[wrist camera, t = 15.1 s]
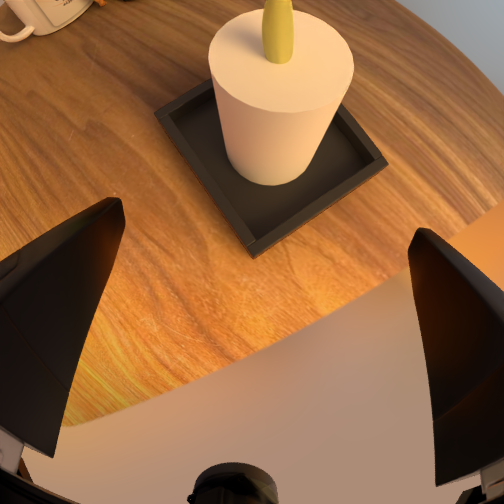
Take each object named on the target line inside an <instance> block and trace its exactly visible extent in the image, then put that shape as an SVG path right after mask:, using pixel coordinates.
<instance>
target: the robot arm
mask: <svg viewBox="0 0 504 504" xmlns="http://www.w3.org/2000/svg"><path fill="white" fill-rule="evenodd" d="M124 229H125V216H124V210H123V205H122V201H121V199H120V198H117V197H107V198H105V199H103V200H101V201H100V202H98V203H96V204H94V205H92V206H90V207H89V208H87V209H85V210H83V211H81V212H80V213H78V214H76V215H74V216H73V217H71V218H69V219H67V220H66V221H64V222H62V223H61V224H59V225H57V226H56V227H54V228H52V229H51V230H49V231H47V232H46V233H44V234H42V235H41V236H39V237H38V238H36V239H34V240H33V241H31V242H30V243H28V244H26V245H25V246H23V247H22V248H21V249H19V250H17V251H16V252H14V253H13V254H11V255H10V256H8V257H6V258H5V259H3V260H2V261H0V504H79V503H77V502H74V501H72V500H69V499H67V498H65V497H62V496H60V495H57V494H55V493H53V492H50V491H49V490H46V489H44V488H42V487H40V486H38V485H36V484H34V483H33V481H32V479H31V477H30V474H29V472H28V470H27V468H26V466H25V463H24V461H23V459H22V458H21V455H22V451H23V448H24V446H26V447H28V448H30V449H32V450H35V451H37V452H39V453H41V454H44V455H46V456H48V457H50V458H53V457H54V454H55V449H56V444H57V440H58V435H59V431H60V427H61V423H62V419H63V415H64V411H65V407H66V403H67V400H68V396H69V393H68V392H70V388H71V385H72V381H73V378H74V374H75V371H76V368H77V365H78V361H79V358H80V355H81V352H82V349H83V346H84V343H85V340H86V337H87V334H88V331H89V328H90V326H91V323H92V320H93V317H94V314H95V312H96V309H97V306H98V304H99V301H100V298H101V296H102V293H103V291H104V288H105V286H106V283H107V281H108V278H109V276H110V273H111V270H112V268H113V265H114V261H115V258H116V255H117V251H118V248H119V245H120V242H121V238H122V235H123V232H124ZM408 260H409V267H410V274H411V281H412V288H413V296H414V300H415V306H416V311H417V316H418V320H419V325H420V331H421V336H422V342H423V348H424V353H425V360H426V367H427V373H428V380H429V388H430V397H431V407H432V418H433V433H434V449H435V484H436V487H438V486H442V485H446V484H449V483H453V482H456V481H459V480H463V479H466V478H469V477H472V476H475V475H478V474H480V479H481V485H479V486H477V487H474V488H471V489H469V490H466V491H463V492H462V494H461V496H460V497H459V499H458V501H457V502H456V504H504V292H503V291H502V290H501V289H500V288H499V287H498V286H497V285H496V284H495V283H494V282H492V281H491V280H490V279H489V278H488V277H487V276H486V275H485V274H484V273H483V272H481V271H480V270H479V269H478V268H477V267H476V266H475V265H473V264H472V263H471V262H470V261H469V260H468V259H466V258H465V257H464V256H463V255H462V254H461V253H459V252H458V251H457V250H456V249H455V248H453V247H452V246H451V245H450V244H448V243H447V242H446V241H445V240H444V239H442V238H441V237H440V236H439V235H437V234H436V233H435V232H434V231H432V230H431V229H428V228H418V229H417V230H416V232H415V234H414V237H413V239H412V241H411V244H410V246H409V248H408ZM240 477H243V478H244V479H240ZM191 499H194V500H191ZM187 501H188V503H189V504H276V503H275V502H273V501H272V500H271V499H270V498H269V497H268V496H267V495H266V494H265V493H264V492H263V491H262V490H261V489H260V488H259V487H258V486H257V485H256V484H255V483H254V482H253V481H252V480H251V479H250V478H249V477H248V476H247V475H246V474H245V473H238V474H236V475H234V476H232V477H230V478H228V479H225V480H223V481H218V482H216V483H214V484H211V485H209V486H207V487H204V488H202V489H200V490H198V492H195V493H193V494H191V495H188V497H187Z"/></svg>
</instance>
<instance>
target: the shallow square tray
mask: <svg viewBox="0 0 504 504" xmlns="http://www.w3.org/2000/svg"><path fill="white" fill-rule="evenodd" d="M154 114H155V116H156V118H157V119H158V121H159V123H160V124H161V126H162V128H163V129H164V131H165V132H166V134H167V135H168V136H169V138H170V139H171V141H172V142H173V144H174V145H175V147H176V148H177V150H178V151H179V153H180V154H181V155H182V157H183V158H184V160H185V161H186V163H187V164H188V166H189V167H190V169H191V170H192V172H193V173H194V174H195V176H196V177H197V179H198V180H199V182H200V183H201V185H202V186H203V188H204V189H205V191H206V192H207V193H208V195H209V196H210V198H211V199H212V201H213V202H214V204H215V205H216V207H217V208H218V210H219V211H220V212H221V214H222V215H223V217H224V218H225V220H226V221H227V223H228V224H229V226H230V227H231V228H232V230H233V231H234V233H235V234H236V236H237V237H238V239H239V240H240V242H241V243H242V244H243V246H244V247H245V249H246V250H247V252H248V253H249V255H250V256H251V258H252V259H255V258H257V257H258V256H260V255H261V254H262V253H264V252H265V251H267V250H268V249H270V248H271V247H273V246H274V245H276V244H277V243H278V242H280V241H281V240H283V239H284V238H286V237H287V236H289V235H290V234H292V233H293V232H294V231H296V230H297V229H299V228H300V227H302V226H303V225H305V224H306V223H307V222H309V221H310V220H312V219H313V218H315V217H316V216H318V215H319V214H320V213H322V212H323V211H325V210H326V209H328V208H329V207H331V206H332V205H333V204H335V203H336V202H338V201H339V200H341V199H342V198H344V197H345V196H346V195H348V194H349V193H351V192H352V191H354V190H355V189H356V188H358V187H359V186H361V185H362V184H364V183H365V182H366V181H368V180H369V179H371V178H372V177H374V176H375V175H377V174H378V173H379V172H380V171H381V170H383V169H384V168H385V167H386V166H387V165H388V162H387V161H386V159H385V158H384V157H383V156H382V154H381V152H380V151H379V150H378V148H377V147H376V146H375V144H374V143H373V142H372V140H371V139H370V138H369V136H368V135H367V134H366V133H365V131H364V130H363V129H362V128H361V126H360V125H359V124H358V123H357V121H356V120H355V119H354V118H353V116H352V115H351V114H350V113H349V112H348V110H347V109H346V108H345V107H344V106H343V105H342V103H340V105H339V107H338V109H337V110H336V112H335V114H334V116H333V118H332V120H331V122H330V124H329V126H328V128H327V130H326V132H325V134H324V136H323V138H322V140H321V142H320V144H319V146H318V148H317V150H316V152H315V154H314V156H313V158H312V160H311V161H310V163H309V165H308V166H307V168H306V169H305V171H304V172H303V173H302V174H301V175H299V176H298V177H297V178H296V179H294V180H292V181H290V182H288V183H285V184H280V185H275V186H273V185H261V184H258V183H254V182H251V181H249V180H248V179H246V178H244V177H243V176H241V175H240V174H239V173H238V172H237V171H236V170H235V169H234V168H233V166H232V164H231V163H230V161H229V159H228V156H227V151H226V147H225V142H224V137H223V132H222V126H221V121H220V116H219V111H218V106H217V101H216V96H215V91H214V86H213V80H212V78H211V79H209V80H207V81H205V82H204V83H202V84H200V85H198V86H197V87H195V88H193V89H192V90H190V91H188V92H186V93H185V94H183V95H182V96H180V97H178V98H177V99H175V100H173V101H172V102H170V103H169V104H167V105H165V106H164V107H162V108H161V109H159V110H158V111H156V112H155V113H154Z"/></svg>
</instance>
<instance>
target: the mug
mask: <svg viewBox="0 0 504 504" xmlns="http://www.w3.org/2000/svg"><path fill="white" fill-rule="evenodd" d="M4 1H5V3H6V4H7V5H8V6H9V7H10V9H11V10H12V11H13V12H14V13H15V14H16V16H17V17H18V18H19V19H20V20H21V21H22V23H23V24H24V25H25V26H26V27H25V28H24V29H23V30H22V31H21V32H19V33H18V34H15V35H12V36H7V35H5V34H3V33H2V32H1V31H0V40H1V41H5V42H18V41H21V40H23V39H25V38H27V37H28V36H29V35H30V34H31V33H32V34H34V35H38V36H41V35H47V34H50V33H53V32H55V31H57V30H59V29H61V28H63V27H65V26H66V25H68V24H69V23H71V22H72V21H74V20H75V19H76V18H78V17H79V16H80V15H81V14H82V13H83V12H84V11H86V10H87V9H88V7H89V6H90V5H91V4H92V3H93V1H92V0H4Z"/></svg>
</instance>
